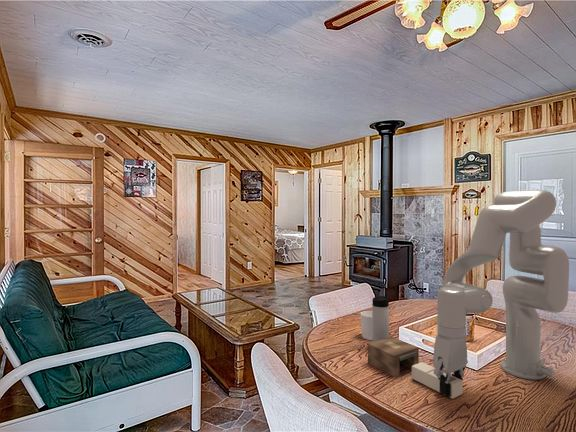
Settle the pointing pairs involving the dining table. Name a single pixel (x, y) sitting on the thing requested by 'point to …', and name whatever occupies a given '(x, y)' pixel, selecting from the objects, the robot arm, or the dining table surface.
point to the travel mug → (380, 318)
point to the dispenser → (392, 355)
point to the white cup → (366, 324)
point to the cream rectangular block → (435, 379)
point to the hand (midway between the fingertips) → (451, 391)
